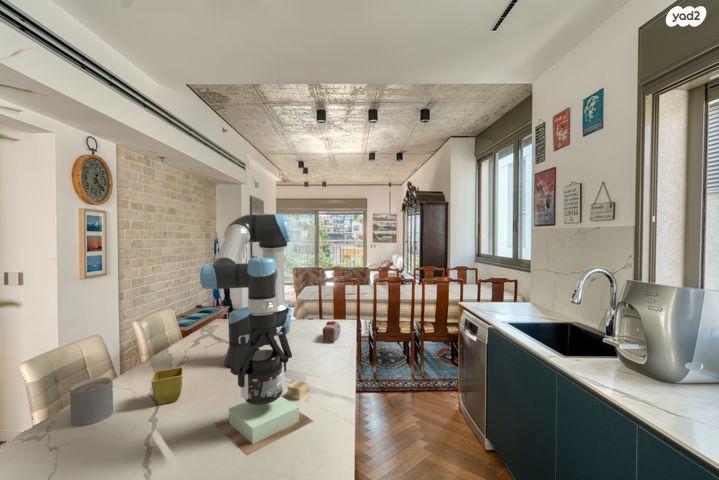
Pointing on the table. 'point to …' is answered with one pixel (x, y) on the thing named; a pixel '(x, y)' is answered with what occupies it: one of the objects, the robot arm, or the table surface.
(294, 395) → the block
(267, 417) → the pedestal slab
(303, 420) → the board
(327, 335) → the food item
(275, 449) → the table surface
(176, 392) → the flower pot
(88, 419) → the coffee mug
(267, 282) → the robot arm
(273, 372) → the supplement container
